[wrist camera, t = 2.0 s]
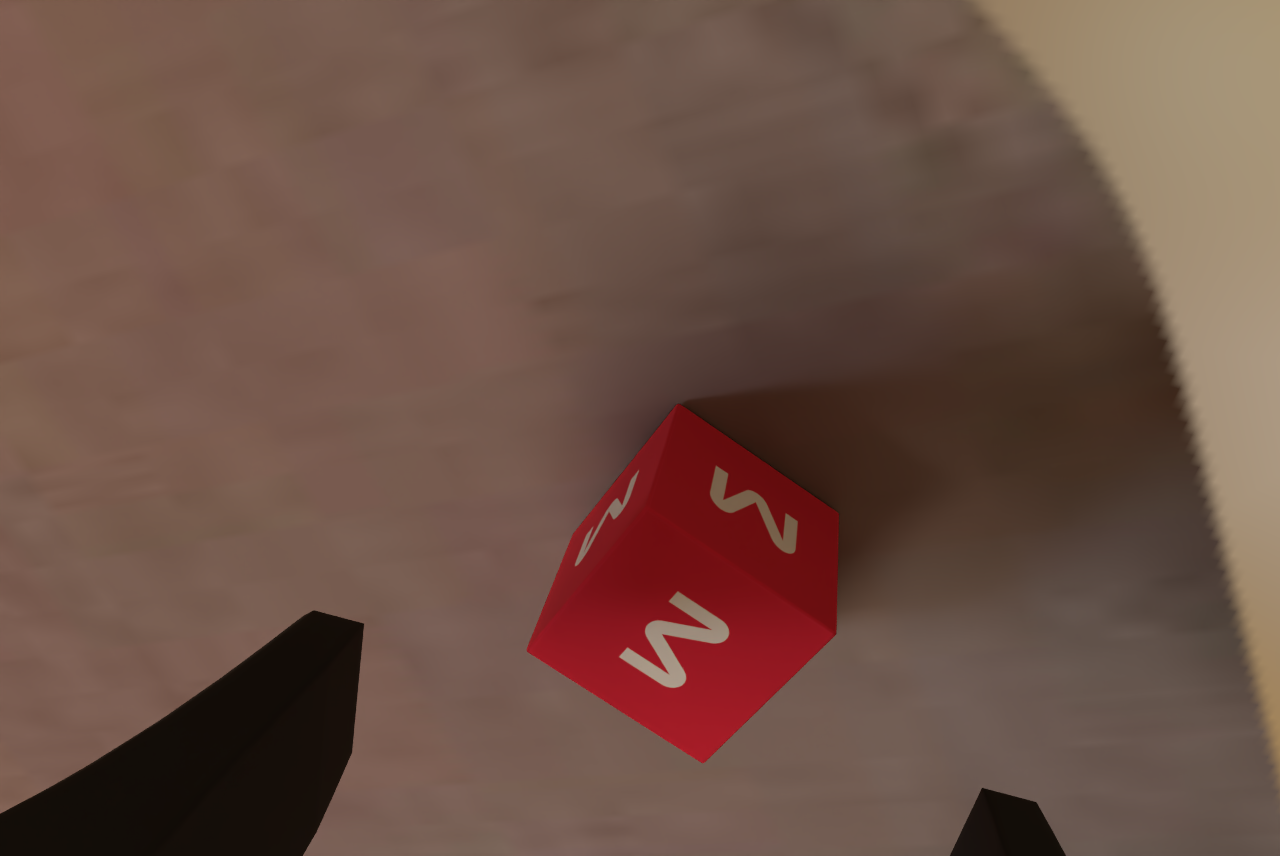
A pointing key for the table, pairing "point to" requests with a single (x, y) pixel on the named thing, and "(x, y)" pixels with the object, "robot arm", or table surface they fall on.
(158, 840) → the robot arm
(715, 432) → the red letter cube
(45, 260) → the table surface
